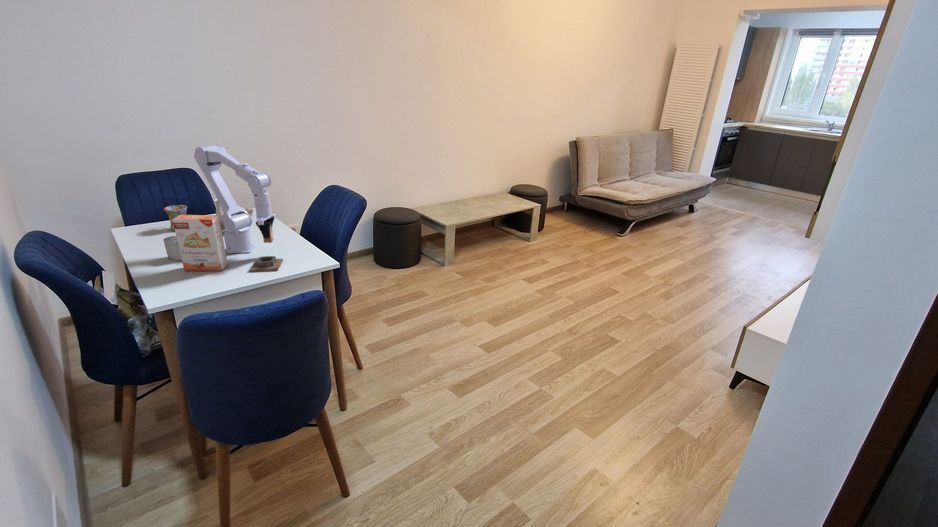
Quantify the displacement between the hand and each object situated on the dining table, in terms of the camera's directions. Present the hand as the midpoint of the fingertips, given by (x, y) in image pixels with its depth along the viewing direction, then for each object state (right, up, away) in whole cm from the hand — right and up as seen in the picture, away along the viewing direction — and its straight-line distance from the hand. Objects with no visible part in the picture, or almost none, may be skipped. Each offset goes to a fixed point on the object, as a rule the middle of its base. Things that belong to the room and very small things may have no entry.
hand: (267, 236), depth 183 cm
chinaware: (-33, +7, +37) cm, 50 cm away
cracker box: (-19, -13, -10) cm, 25 cm away
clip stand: (+3, -12, -6) cm, 14 cm away
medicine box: (-35, -9, -1) cm, 36 cm away
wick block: (0, -2, +1) cm, 2 cm away
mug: (-56, +6, +31) cm, 65 cm away
